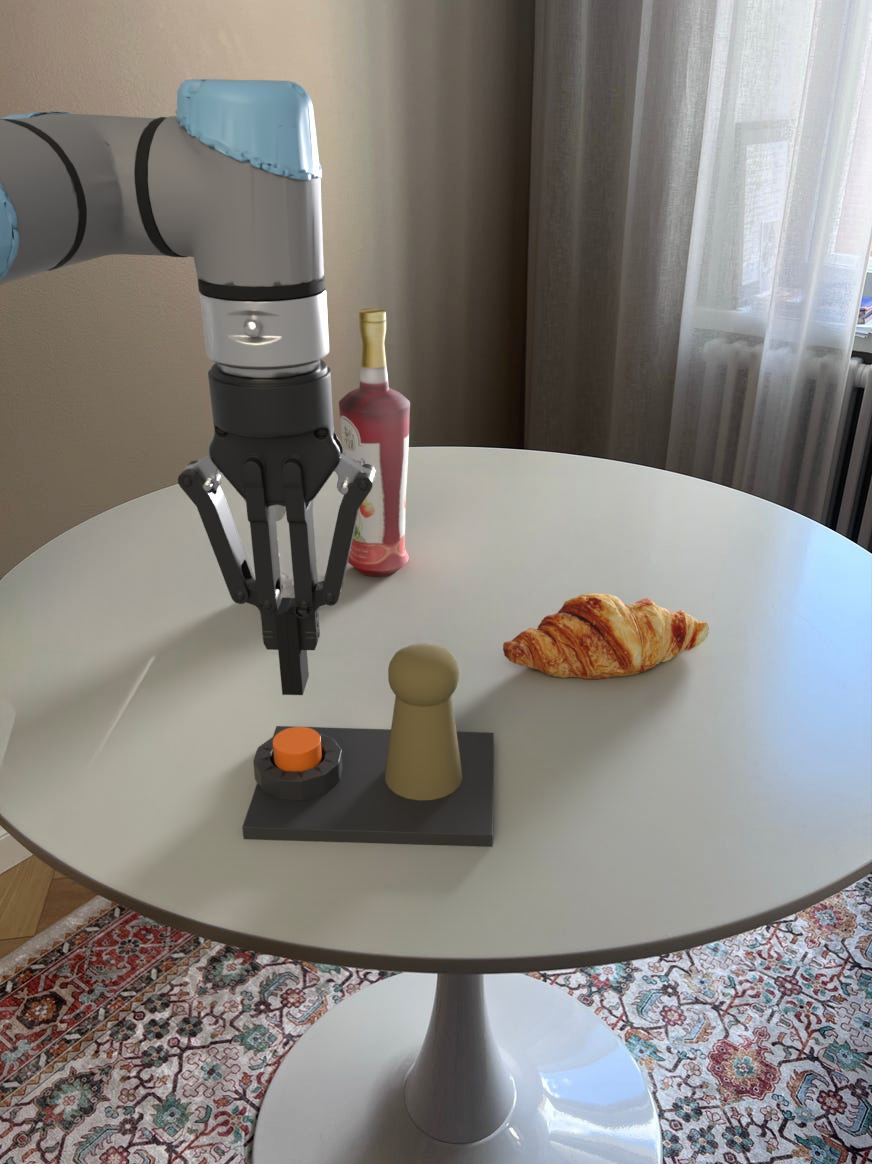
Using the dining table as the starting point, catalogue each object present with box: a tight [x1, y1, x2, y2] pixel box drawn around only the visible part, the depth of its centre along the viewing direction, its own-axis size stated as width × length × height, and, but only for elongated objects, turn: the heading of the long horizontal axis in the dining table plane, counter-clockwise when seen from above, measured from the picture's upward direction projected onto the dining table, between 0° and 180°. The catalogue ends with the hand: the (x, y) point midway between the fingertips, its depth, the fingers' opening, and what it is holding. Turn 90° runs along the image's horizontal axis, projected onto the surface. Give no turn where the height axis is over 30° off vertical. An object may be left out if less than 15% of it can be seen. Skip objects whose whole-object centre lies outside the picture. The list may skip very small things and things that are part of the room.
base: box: [241, 725, 494, 848], centre depth 79 cm, size 18×13×3 cm
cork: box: [385, 643, 463, 800], centre depth 76 cm, size 6×6×11 cm
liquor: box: [338, 307, 411, 578], centre depth 108 cm, size 7×7×28 cm
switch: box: [273, 726, 322, 772], centre depth 78 cm, size 4×4×2 cm
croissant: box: [502, 592, 711, 680], centre depth 97 cm, size 21×10×8 cm, turn 109°
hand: (295, 684), depth 75 cm, fingers closed
